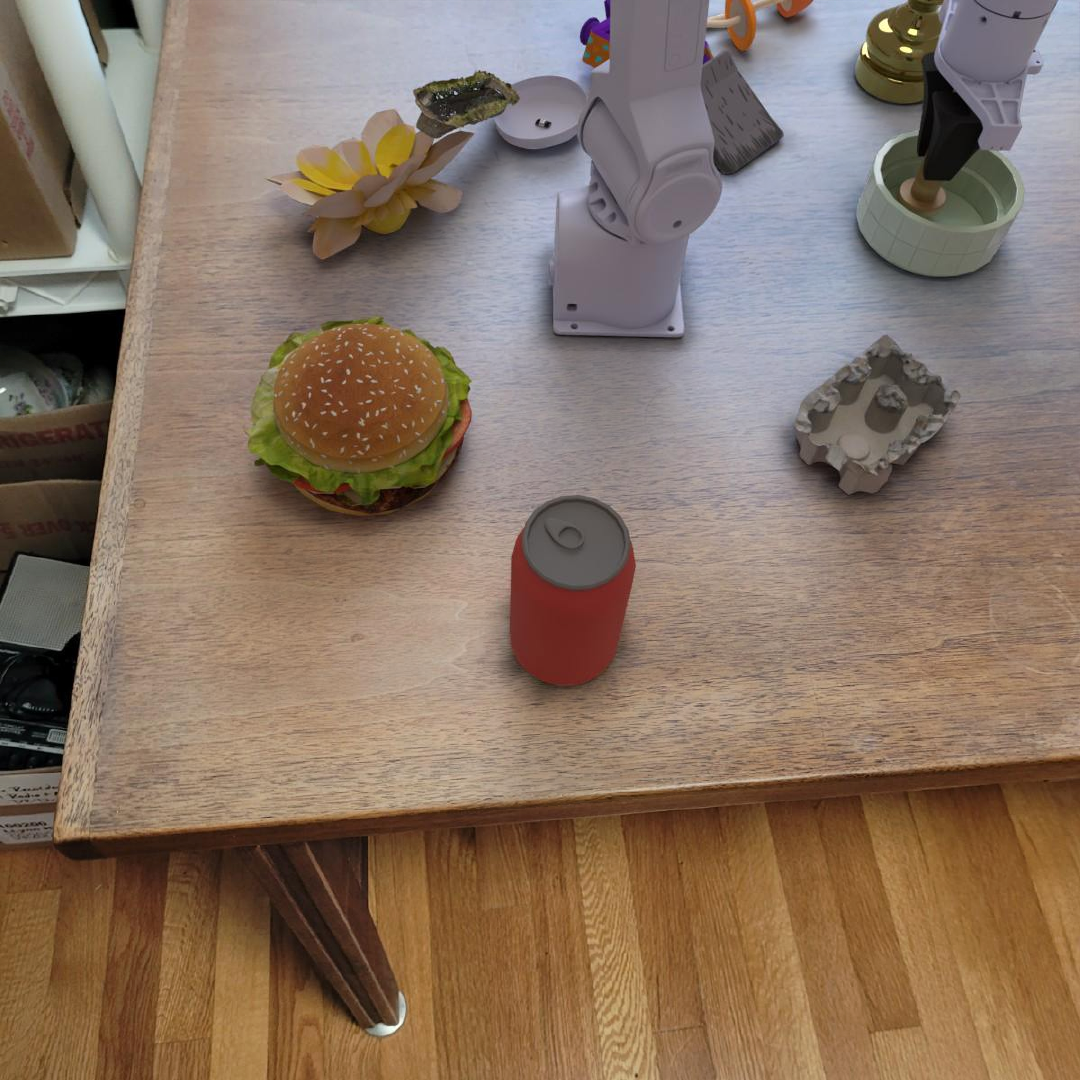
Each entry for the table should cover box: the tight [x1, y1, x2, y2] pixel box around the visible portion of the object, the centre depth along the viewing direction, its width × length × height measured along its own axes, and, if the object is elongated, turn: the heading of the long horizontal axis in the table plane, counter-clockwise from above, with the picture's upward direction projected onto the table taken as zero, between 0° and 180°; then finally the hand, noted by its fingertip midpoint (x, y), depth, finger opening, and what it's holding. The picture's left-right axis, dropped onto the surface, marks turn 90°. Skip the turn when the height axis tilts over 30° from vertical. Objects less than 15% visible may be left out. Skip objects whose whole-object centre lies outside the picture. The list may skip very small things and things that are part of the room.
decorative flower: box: [264, 108, 476, 260], centre depth 77 cm, size 15×11×10 cm
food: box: [243, 315, 473, 517], centre depth 67 cm, size 14×14×8 cm
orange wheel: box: [707, 0, 815, 52], centre depth 92 cm, size 7×8×15 cm
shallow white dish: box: [492, 75, 588, 150], centre depth 86 cm, size 8×8×2 cm
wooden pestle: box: [897, 89, 956, 217], centre depth 76 cm, size 4×4×11 cm
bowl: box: [855, 129, 1026, 278], centre depth 80 cm, size 11×11×5 cm
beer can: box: [509, 494, 637, 687], centre depth 58 cm, size 7×7×12 cm
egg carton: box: [793, 334, 961, 495], centre depth 70 cm, size 11×8×4 cm
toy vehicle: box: [579, 0, 785, 175], centre depth 84 cm, size 9×21×15 cm, turn 42°
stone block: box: [412, 69, 520, 140], centre depth 79 cm, size 14×4×5 cm
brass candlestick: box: [854, 0, 944, 105], centre depth 87 cm, size 7×7×10 cm
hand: (933, 165), depth 78 cm, fingers closed on wooden pestle, 2 cm apart
